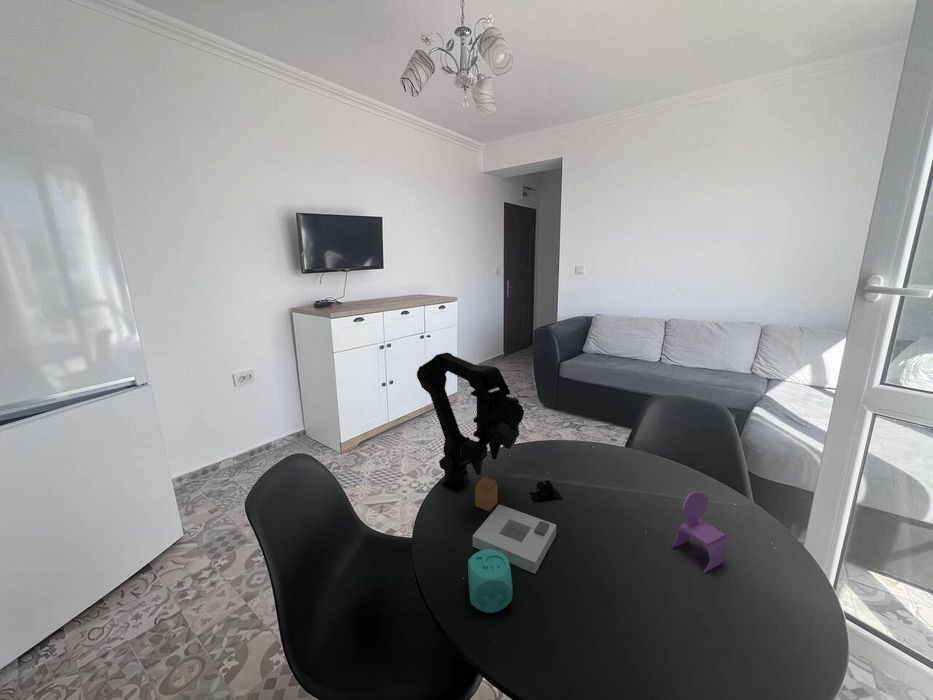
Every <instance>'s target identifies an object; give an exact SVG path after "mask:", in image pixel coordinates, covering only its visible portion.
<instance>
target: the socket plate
mask: <svg viewBox="0 0 933 700" xmlns="http://www.w3.org/2000/svg"><path fill="white" fill-rule="evenodd" d="M557 526H558V525H557V524H555V523H552V522H550V521H546V520H544V519H541V518H538V517H536V516H533V515H530V514H527V513H524V512H522V511H519V510H516V509H513V508H510V507H508V506H505V505H501V504H498V505H496V508H494V510H493V511H492V512H491V513H490V514H489V516H488V517H487V518H486V519H485V521H484V522H483V523H482V524H481V525H480V527H478V529H477V530H476V531H475V532H474V533H473V535H472V548H476V549H477V550H479V551H481V550H486V549H492V550H496V551H499V552H500V553H502V554H504V555H505V556H506V557H507V558H508V561H509V564H511V565H514V566H516V567H518V568H520V569H523V570H525V571H527V572H529V573H532V574H534V575H536V573H537V572H538V570H539V567H540V566H541V563H542V562H543V560H544V558H545V557H546V554H547V553H548V551H549V549H550V547H551V546H552V543H553V542H554V539H555V538H556V537H557Z"/></svg>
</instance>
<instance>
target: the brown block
mask: <svg viewBox="0 0 933 700" xmlns="http://www.w3.org/2000/svg"><path fill="white" fill-rule="evenodd" d="M474 489H475V490H474V498H475V499H474V500H475V501H474V502H475V507H477V508H479V509H483V510H485V511H488V512H491V511H492V510H493V509H494V507H495V506H497V504H498V489H499V488H498V483H497V481H496V480H495V479H491V478H489V477H486V476H483V477H482V478H481V479H480V480H479V481H478V482H477V483H476V486H474Z"/></svg>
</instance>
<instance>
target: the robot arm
mask: <svg viewBox="0 0 933 700" xmlns="http://www.w3.org/2000/svg"><path fill="white" fill-rule="evenodd" d="M448 372H449V373H451V374H454V376H456V377H459V378H461V379H464V380H466V381H467V382H468V384H469V386H470V387H471V388H472V389H473V391H471V393H470V394H471V395H470V396H473V397H475V398H476V416H475V417H474V418H473V423H476V430H475V431H474V432H473V437H476V438H477V439H478V440H473V439H471V438H470V437H469V436H464V434H462V433H461V430H460V428H459V425H458V423H457V419H456V416H455V413H454V411H453V408H452V405H451V402H450V399H449V397H448V393H447V391H446V385H447V376H446V373H448ZM416 378H417V380H418V382H419V384H420V385H421V388H423V390H425V391H426V392H427V393H428V394H429V396H430V400H431V401H432V404H433V408H434V412H435V413H436V416H437V419H438V422H439V425H440V428H441V430H442V434H443V437H444V443H443V448H442V450H443V455H444V456H442V458H440V459H439V460H438V463H439V468H440V469H442V470H443V471H444V481H443V482H442V483H441V486H442V487H445V488H447V489H450V490H453V491H456V492H460V491H462V489H464V488H465V487H466V486H467V485H468V484H469V483H470V482H471V480H470V479H469V471H468V467H467V466H468V465H471V466H472V468H473V470H474V472H475V473H476V475H477V476H481V474H482V469H483V461H484V459H485V458H486V457H488V454H487V453H488V450H490V451H489V452H490V454H491V459H492V460H497V458H498V456H499V452H500V450H501V446H503V448H505V449H507V450H509V449H511V448H512V447H513V446H514V445H515V444H516V442H517V439H518V437H519V436H520V428H519V425H520V424H521V423H522V421H523V419H524V416H525V410H524V408H523V406H522V405H521V404H520V403H519V402H520V401H519V399H518V398H516V397H510V396H508V395H510V394H511V392H510V389H509V386H508V385H507V383H506V381H505V379H504V377H503V374H502V373H501V371H500V369H499V368H498V367H495V366H491V365H477V364H474V363H472V362H469V361H467V360H465V359H462V358H460V357H458V356H455V355H453V354H452V353H451V352H442V353H437V354H436V355H435V356H434V357H433V358H431V359H430V360H428V361H427V362H425V363H424V364H422V365H421V366H419V367H418V369H417V371H416ZM495 389H497V390H495ZM492 390H494V391H492ZM488 445H489V449H488Z"/></svg>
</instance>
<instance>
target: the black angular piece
mask: <svg viewBox="0 0 933 700" xmlns="http://www.w3.org/2000/svg"><path fill="white" fill-rule="evenodd" d="M535 489H536V492H533V491H528V492H529V494H530V495H531V496H532V497H531V496H530V497H531V499H532V501H533V503H532V504H538V503H539V502H540V503H547V502H555V501H561V500H564V498H563V496H562V495H561V493H559V491H558V489H556V488H554V485H553V484H552V482H551V481H550V480H549V479H548V480H544V481H543V480H541V481H540V480H539V481H537V483H536V487H535ZM530 497H529V498H530ZM531 499H530V500H531ZM532 501H531V502H532ZM544 501H545V502H544ZM535 502H536V503H535ZM537 502H538V503H537Z"/></svg>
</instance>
